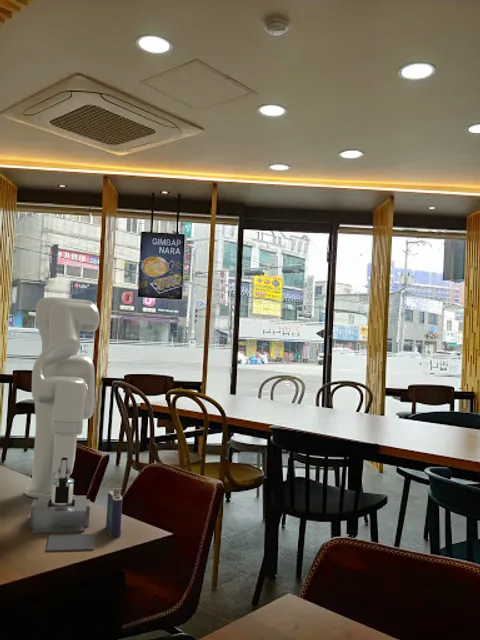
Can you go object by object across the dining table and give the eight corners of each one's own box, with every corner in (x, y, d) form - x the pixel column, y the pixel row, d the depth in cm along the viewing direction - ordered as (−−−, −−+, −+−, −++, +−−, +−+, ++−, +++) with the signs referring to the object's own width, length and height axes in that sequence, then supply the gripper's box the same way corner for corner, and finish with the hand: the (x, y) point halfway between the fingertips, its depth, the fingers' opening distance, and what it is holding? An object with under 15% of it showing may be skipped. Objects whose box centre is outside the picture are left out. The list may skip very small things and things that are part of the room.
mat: (49, 536, 131) (49, 534, 131) (92, 535, 134) (93, 533, 134) (46, 551, 122) (46, 550, 122) (93, 550, 124) (93, 548, 124)
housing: (33, 515, 146) (35, 496, 147) (88, 514, 150) (89, 495, 150) (27, 532, 133) (29, 511, 133) (88, 531, 137) (90, 510, 137)
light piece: (50, 520, 143) (53, 477, 144) (70, 519, 145) (74, 477, 145) (49, 526, 138) (52, 482, 139) (70, 526, 140) (73, 482, 140)
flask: (104, 526, 141) (107, 483, 142) (116, 525, 142) (119, 483, 143) (110, 538, 133) (114, 492, 133) (123, 537, 134) (126, 492, 134)
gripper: (53, 422, 150) (48, 491, 149) (49, 432, 134) (43, 509, 133) (82, 423, 152) (77, 491, 151) (82, 433, 136) (76, 509, 135)
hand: (61, 498), depth 142 cm, fingers closed on light piece, 5 cm apart
